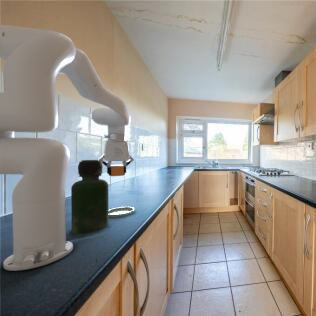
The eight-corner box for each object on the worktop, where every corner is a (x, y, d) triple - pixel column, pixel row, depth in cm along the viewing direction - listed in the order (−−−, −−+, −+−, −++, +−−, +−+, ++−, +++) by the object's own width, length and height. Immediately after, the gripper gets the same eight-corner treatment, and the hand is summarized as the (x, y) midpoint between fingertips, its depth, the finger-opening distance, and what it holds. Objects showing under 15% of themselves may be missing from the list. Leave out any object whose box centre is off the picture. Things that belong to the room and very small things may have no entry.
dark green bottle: (70, 237, 59) (70, 161, 59) (72, 227, 68) (72, 159, 67) (109, 229, 66) (109, 160, 65) (107, 221, 74) (107, 159, 73)
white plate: (136, 214, 83) (136, 211, 83) (107, 219, 75) (107, 216, 75) (131, 208, 91) (131, 205, 91) (104, 212, 84) (104, 209, 83)
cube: (123, 175, 90) (123, 165, 90) (111, 176, 87) (111, 165, 87) (121, 174, 94) (121, 164, 94) (110, 175, 90) (110, 165, 90)
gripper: (95, 136, 81) (95, 177, 82) (138, 138, 92) (137, 174, 93) (94, 137, 87) (94, 175, 87) (134, 139, 98) (134, 173, 99)
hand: (116, 174), depth 90 cm, fingers closed on cube, 5 cm apart
